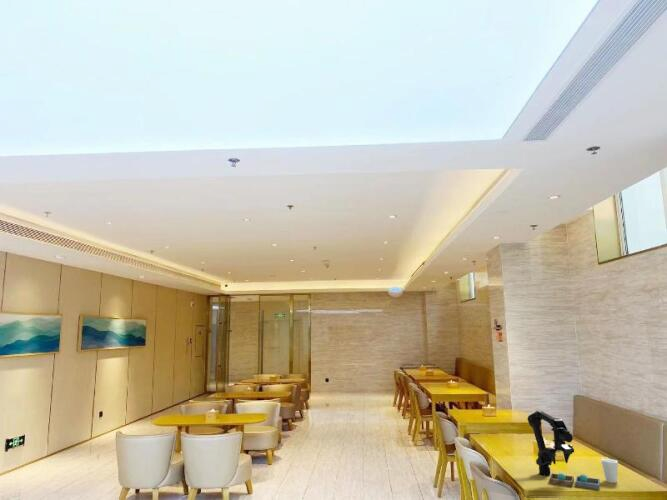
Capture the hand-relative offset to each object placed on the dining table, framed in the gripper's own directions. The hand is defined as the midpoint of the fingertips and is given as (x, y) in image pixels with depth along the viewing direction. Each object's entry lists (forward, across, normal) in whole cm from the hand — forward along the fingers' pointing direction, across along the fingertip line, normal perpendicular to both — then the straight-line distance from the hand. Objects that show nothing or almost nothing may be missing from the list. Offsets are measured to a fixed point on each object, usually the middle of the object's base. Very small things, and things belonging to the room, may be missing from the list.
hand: (560, 463), depth 307 cm
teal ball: (+8, 0, 0) cm, 8 cm away
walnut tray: (+12, 0, 0) cm, 12 cm away
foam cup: (+12, +33, -6) cm, 36 cm away
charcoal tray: (+12, +12, -9) cm, 19 cm away
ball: (+8, +12, -6) cm, 16 cm away
